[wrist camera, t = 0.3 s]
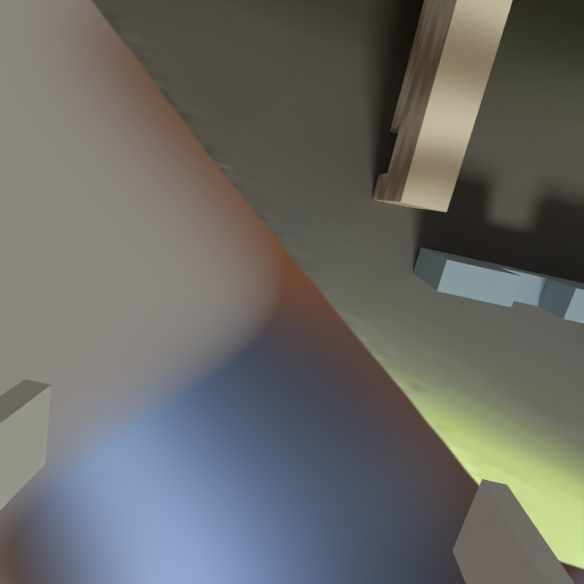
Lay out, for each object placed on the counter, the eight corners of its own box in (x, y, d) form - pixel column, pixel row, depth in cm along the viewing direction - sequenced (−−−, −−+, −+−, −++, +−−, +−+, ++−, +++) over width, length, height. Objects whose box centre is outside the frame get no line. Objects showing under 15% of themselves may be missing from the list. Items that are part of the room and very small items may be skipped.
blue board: (413, 272, 37) (437, 290, 30) (420, 247, 36) (447, 259, 29) (576, 308, 37) (636, 334, 30) (587, 283, 36) (651, 304, 30)
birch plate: (428, -15, 31) (491, -125, 20) (464, -7, 31) (546, -111, 20) (372, 199, 35) (400, 201, 25) (404, 206, 35) (446, 212, 25)
